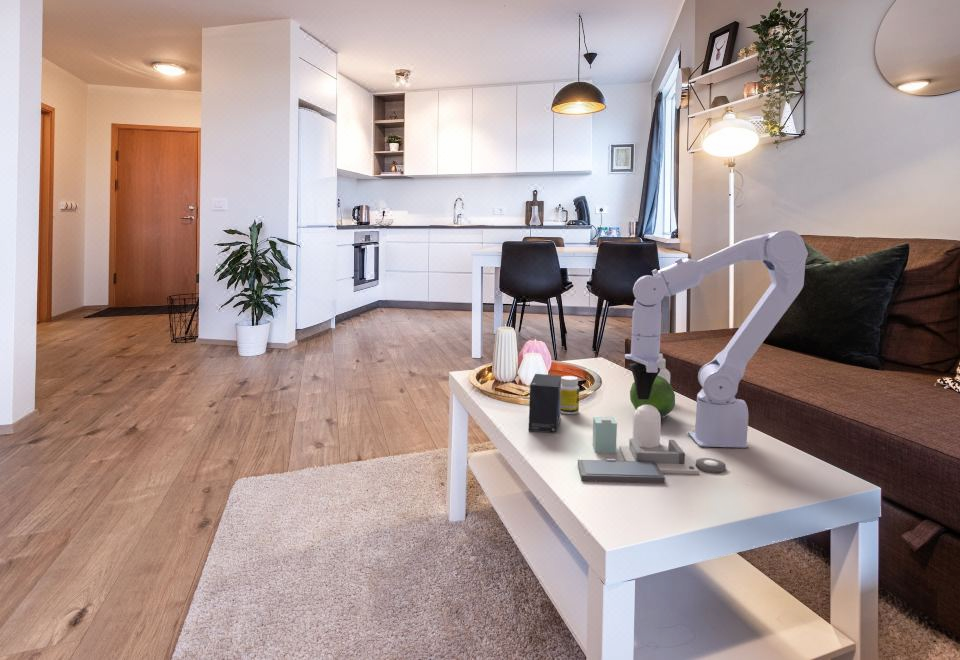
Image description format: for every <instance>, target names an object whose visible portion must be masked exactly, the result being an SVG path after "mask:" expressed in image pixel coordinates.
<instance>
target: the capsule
mask: <svg viewBox="0 0 960 660" xmlns="http://www.w3.org/2000/svg"><path fill="white" fill-rule="evenodd" d="M632 420H633V421H632V439H635V440H636V442H637V444H638V445H639V447H640V448H645V449H646V448H651V449H652V448H657V447H658V446H660V442H661V441H660V440H661V425H662V423H661V422H662V417H661V416H660V413H659V411H658V410H657V409H656V408H655V407H654V406H652V405H642V406H640V407H638V408H637V410H635V411H634V414H633V417H632Z"/></svg>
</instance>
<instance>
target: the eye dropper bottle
mask: <svg viewBox="0 0 960 660" xmlns="http://www.w3.org/2000/svg"><path fill="white" fill-rule="evenodd" d="M659 355H660V361H659V362H658V367H659V368H660V372H659V373H658V376H661V377H663V378H664V379H666V380H667V381H668V383H669V384H670V385H671V372H670V370H668V369H667V368H666V365H667V364H666V362H667V361H666V358H664V355H663V353H660V354H659Z"/></svg>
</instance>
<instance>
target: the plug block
mask: <svg viewBox="0 0 960 660" xmlns="http://www.w3.org/2000/svg"><path fill="white" fill-rule="evenodd" d="M592 419H593V420H592V421H593V423H592V447H593V450H594V453H597V454H599V453H601V454H617V438H618V437H617V435H618V433H617V430H618V428H617V427H618V423H617V420H616V418H615V417H614V416H593V417H592Z"/></svg>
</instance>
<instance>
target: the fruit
mask: <svg viewBox="0 0 960 660" xmlns="http://www.w3.org/2000/svg"><path fill="white" fill-rule="evenodd" d="M674 391H675V390H674V389H673V387H672V385H671V383H670V384H669V383H668V381H667V380H666V379H664V378H663V377H661V376H658V375H657V377H656V378H655V380H654V383H653V386H652V389H651V393H650V396H649V399H638V398H637V394H636V388H635V381H634V382H633V383H632V385H631V387H630V391H629V399H630V402H631V404H632V405H633V408H634V410H635V411H636V410H637V408H638V407H640V406H642V405H652V406H654V407H655V408H656V409H657V410H658V411H659V413H660V416H661V418H664V417H666V416H668V415H669V414H670V413H671V412H672V411H674V408H675V406H676V394H675V392H674Z"/></svg>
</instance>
